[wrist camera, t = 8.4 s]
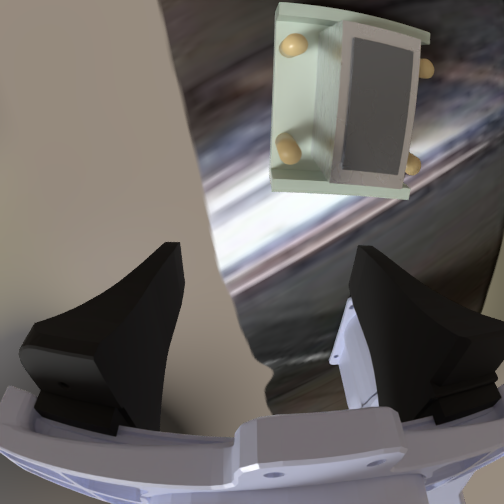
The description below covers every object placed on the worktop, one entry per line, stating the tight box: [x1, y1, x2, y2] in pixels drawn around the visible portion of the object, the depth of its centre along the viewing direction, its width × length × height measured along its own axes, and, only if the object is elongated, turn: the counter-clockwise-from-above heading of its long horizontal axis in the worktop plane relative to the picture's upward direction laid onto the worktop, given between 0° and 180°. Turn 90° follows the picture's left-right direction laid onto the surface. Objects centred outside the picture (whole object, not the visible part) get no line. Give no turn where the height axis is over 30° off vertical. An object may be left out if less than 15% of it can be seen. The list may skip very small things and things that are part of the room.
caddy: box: [269, 2, 434, 200], centre depth 16 cm, size 11×9×4 cm
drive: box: [310, 20, 421, 189], centre depth 14 cm, size 8×4×5 cm, turn 178°
